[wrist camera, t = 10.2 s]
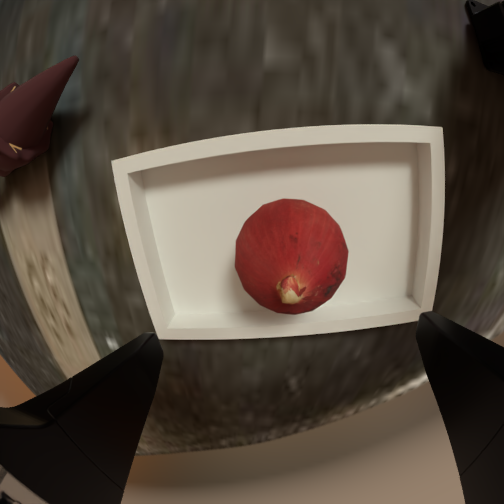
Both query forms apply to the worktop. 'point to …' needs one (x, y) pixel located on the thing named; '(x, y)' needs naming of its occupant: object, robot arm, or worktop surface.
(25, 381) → the worktop surface
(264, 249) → the onion
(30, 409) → the robot arm
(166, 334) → the tray
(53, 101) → the dark red toy figure
